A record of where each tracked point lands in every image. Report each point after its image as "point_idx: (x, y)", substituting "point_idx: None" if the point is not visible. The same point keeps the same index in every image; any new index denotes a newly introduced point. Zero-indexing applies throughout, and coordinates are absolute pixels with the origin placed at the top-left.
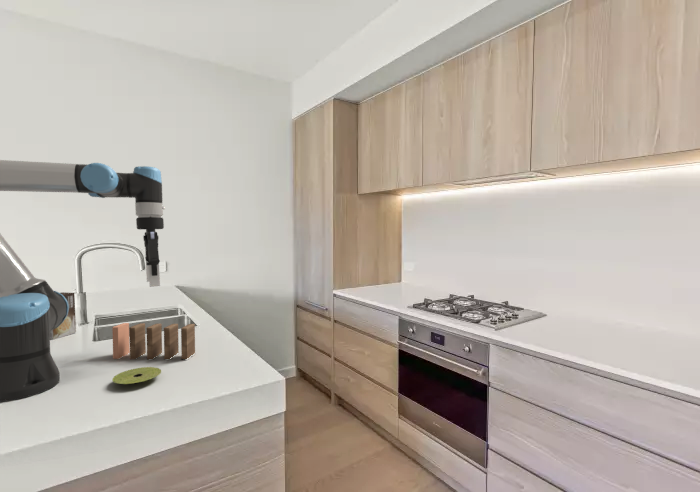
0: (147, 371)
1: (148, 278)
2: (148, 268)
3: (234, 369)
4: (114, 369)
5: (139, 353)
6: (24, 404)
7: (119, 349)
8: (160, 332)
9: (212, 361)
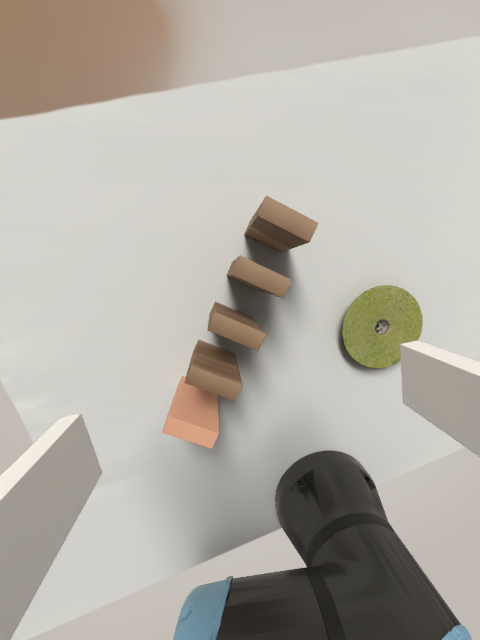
0: (371, 312)
1: (85, 484)
2: (11, 601)
3: (395, 131)
4: (286, 380)
5: (220, 351)
6: (389, 462)
7: (214, 397)
8: (221, 311)
9: (321, 179)
